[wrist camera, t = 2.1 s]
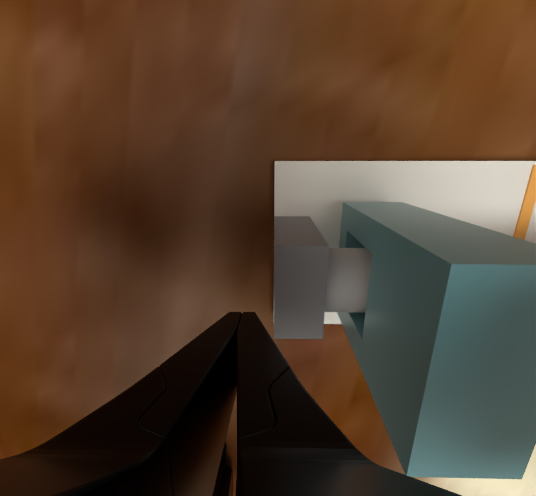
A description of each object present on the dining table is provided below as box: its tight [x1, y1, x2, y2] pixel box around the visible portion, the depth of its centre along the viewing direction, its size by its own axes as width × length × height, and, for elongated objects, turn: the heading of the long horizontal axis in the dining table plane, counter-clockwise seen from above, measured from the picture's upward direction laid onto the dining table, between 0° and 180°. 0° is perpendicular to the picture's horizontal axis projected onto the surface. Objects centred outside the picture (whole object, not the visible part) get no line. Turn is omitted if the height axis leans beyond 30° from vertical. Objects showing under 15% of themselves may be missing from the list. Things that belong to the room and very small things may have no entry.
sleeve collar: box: [337, 202, 536, 479], centre depth 11 cm, size 3×6×9 cm, turn 0°
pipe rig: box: [274, 161, 536, 339], centre depth 14 cm, size 20×10×7 cm, turn 90°
